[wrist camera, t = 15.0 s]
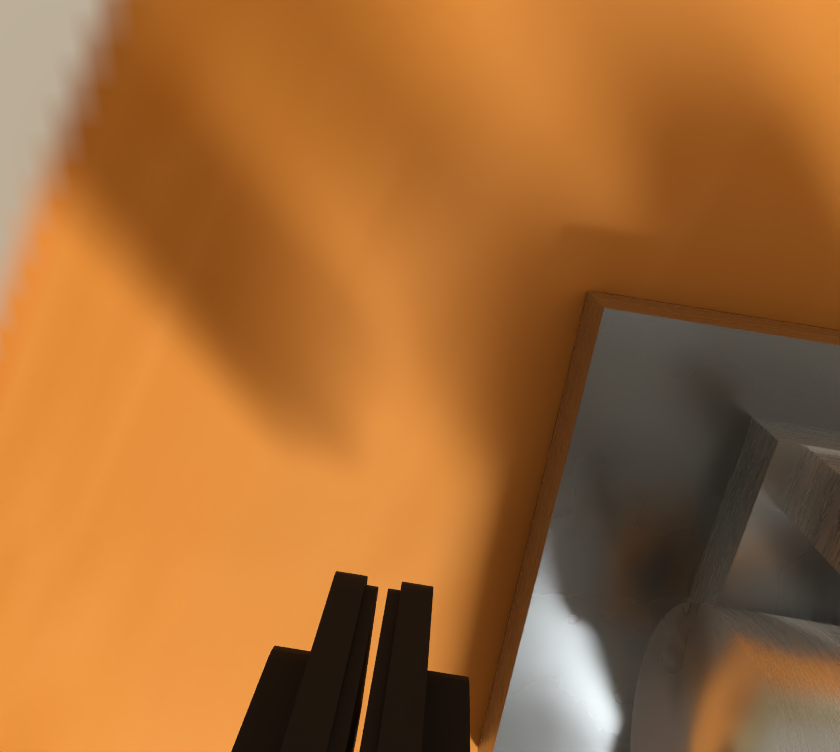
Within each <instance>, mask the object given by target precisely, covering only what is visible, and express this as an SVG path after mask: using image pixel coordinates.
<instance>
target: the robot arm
mask: <svg viewBox="0 0 840 752" xmlns="http://www.w3.org/2000/svg"><path fill="white" fill-rule="evenodd" d="M367 578H368V577H367V576H363V575H357V574H351V573H345V572H338V571H336V573H335V576H334V579H333V582H332V585H331V588H330V592H329V595H328V598H327V601H326V604H325V608H324V611H323V614H322V617H321V621H320V624H319V627H318V630H317V633H316V637H315V640H314V643H313V646H312V649H311V651H304V650H298V649H292V648H286V647H280V646H274V647H273V649H272V650H271V653H270V655H269V657H268V660H267V662H266V665H265V667H264V670H263V672H262V675H261V677H260V680H259V683H258V685H257V688H256V690H255V693H254V695H253V698H252V700H251V703H250V705H249V708H248V711H247V713H246V716H245V718H244V721H243V723H242V726H241V728H240V731H239V733H238V736H237V739H236V741H235V744H234V746H233V749H232V751H231V752H354V747H355V742H356V736H357V731H358V725H359V719H360V713H361V707H362V700H363V693H364V686H365V679H366V672H367V665H368V658H369V651H370V644H371V636H372V629H373V622H374V615H375V608H376V601H377V594H378V587H376V586H370V585H367ZM432 599H433V587H432V586H426V585H420V584H413V583H407V582H402V585H401V590H395V589H388V593H387V599H386V604H385V610H384V616H383V621H382V627H381V633H380V638H379V644H378V650H377V655H376V661H375V667H374V672H373V678H372V684H371V689H370V695H369V701H368V706H367V712H366V718H365V723H364V729H363V735H362V741H361V746H360V752H470V696H469V679H468V677H465V676H459V675H452V674H446V673H440V672H434V671H428V670H427V669H428V655H429V641H430V627H431V613H432Z"/></svg>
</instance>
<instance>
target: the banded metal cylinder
mask: <svg viewBox="0 0 840 752" xmlns="http://www.w3.org/2000/svg"><path fill="white" fill-rule="evenodd" d="M630 752H840V626H838V625H832V624H826V623H820V622H814V621H808V620H802V619H796V618H790V617H784V616H778V615H772V614H766V613H760V612H754V611H748V610H742V609H736V608H730V607H724V606H718V605H712V604H706V603H700V602H685V603H681V604H679V605H677V606H675V607H674V608H672V609H671V610H670V611H669V612H668V613H667V614H666V615H665V616H664V617H663V618H662V620H661V621H660V622H659V624H658V625H657V627H656V629H655V631H654V632H653V634H652V636H651V639H650V641H649V643H648V646H647V648H646V651H645V654H644V657H643V660H642V664H641V668H640V672H639V676H638V681H637V686H636V691H635V698H634V705H633V713H632V724H631V742H630Z"/></svg>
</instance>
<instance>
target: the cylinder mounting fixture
mask: <svg viewBox="0 0 840 752" xmlns="http://www.w3.org/2000/svg"><path fill="white" fill-rule="evenodd" d="M685 602H700V603H706V604H712V605H718V606H724V607H730V608H736V609H742V610H748V611H754V612H760V613H766V614H772V615H778V616H784V617H790V618H796V619H802V620H808V621H814V622H820V623H826V624H832V625H838V626H840V331H838V330H832V329H826V328H819V327H813V326H807V325H801V324H794V323H788V322H782V321H776V320H769V319H763V318H757V317H750V316H744V315H738V314H732V313H725V312H719V311H713V310H707V309H700V308H694V307H688V306H681V305H675V304H669V303H663V302H656V301H650V300H644V299H638V298H631V297H625V296H619V295H612V294H606V293H600V292H594V291H588V292H587V296H586V301H585V305H584V309H583V313H582V317H581V321H580V326H579V330H578V334H577V338H576V342H575V346H574V351H573V355H572V359H571V363H570V367H569V371H568V376H567V380H566V384H565V388H564V392H563V396H562V401H561V405H560V409H559V413H558V417H557V421H556V426H555V430H554V434H553V438H552V442H551V446H550V451H549V455H548V459H547V463H546V467H545V471H544V476H543V480H542V484H541V488H540V492H539V496H538V501H537V505H536V509H535V513H534V517H533V521H532V526H531V530H530V534H529V538H528V542H527V546H526V551H525V555H524V559H523V563H522V567H521V571H520V576H519V580H518V584H517V588H516V592H515V596H514V601H513V605H512V609H511V613H510V617H509V621H508V626H507V630H506V634H505V638H504V642H503V646H502V651H501V655H500V659H499V663H498V667H497V671H496V676H495V680H494V684H493V688H492V692H491V696H490V701H489V705H488V709H487V713H486V717H485V721H484V726H483V730H482V734H481V738H480V742H479V746H478V752H630V742H631V724H632V713H633V705H634V698H635V691H636V686H637V681H638V676H639V672H640V668H641V664H642V660H643V657H644V654H645V651H646V648H647V646H648V643H649V641H650V639H651V636H652V634H653V632H654V631H655V629H656V627H657V625H658V624H659V622H660V621H661V620H662V618H663V617H664V616H665V615H666V614H667V613H668V612H669V611H670V610H671V609H672V608H674V607H675V606H677V605H679V604H681V603H685Z"/></svg>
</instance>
